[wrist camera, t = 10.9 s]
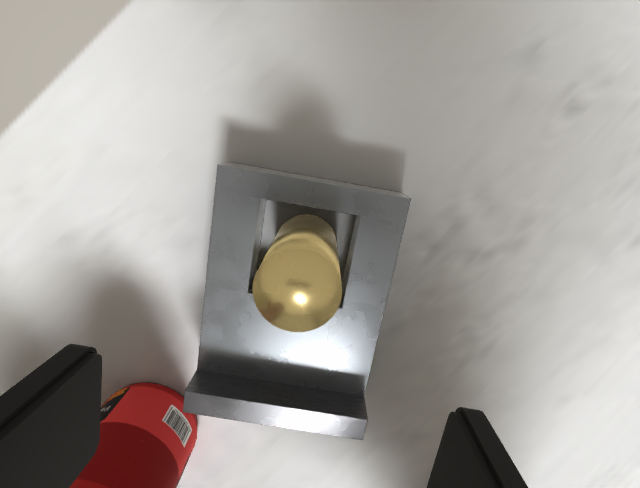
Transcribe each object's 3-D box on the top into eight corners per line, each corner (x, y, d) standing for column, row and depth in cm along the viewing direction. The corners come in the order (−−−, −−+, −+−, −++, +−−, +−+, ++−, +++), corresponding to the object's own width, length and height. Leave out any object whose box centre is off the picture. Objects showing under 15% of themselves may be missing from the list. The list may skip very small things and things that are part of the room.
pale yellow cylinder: (341, 220, 26) (349, 256, 18) (330, 277, 28) (333, 338, 19) (280, 209, 26) (258, 241, 18) (271, 267, 27) (247, 324, 19)
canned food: (115, 367, 30) (-1, 490, 19) (211, 396, 30) (150, 532, 20) (97, 441, 32) (-18, 591, 21) (188, 468, 32) (121, 626, 22)
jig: (401, 192, 26) (420, 204, 21) (356, 388, 30) (362, 440, 25) (229, 162, 26) (205, 166, 20) (207, 364, 30) (182, 412, 24)
